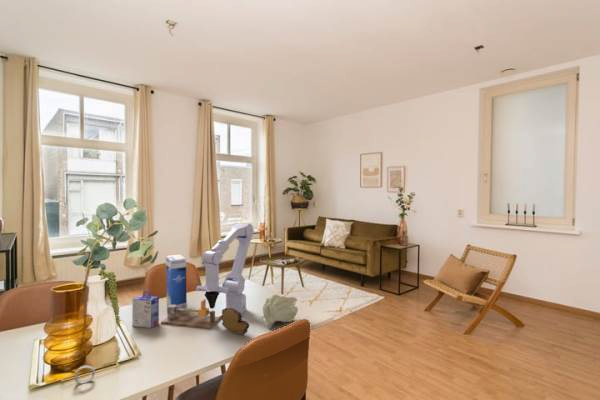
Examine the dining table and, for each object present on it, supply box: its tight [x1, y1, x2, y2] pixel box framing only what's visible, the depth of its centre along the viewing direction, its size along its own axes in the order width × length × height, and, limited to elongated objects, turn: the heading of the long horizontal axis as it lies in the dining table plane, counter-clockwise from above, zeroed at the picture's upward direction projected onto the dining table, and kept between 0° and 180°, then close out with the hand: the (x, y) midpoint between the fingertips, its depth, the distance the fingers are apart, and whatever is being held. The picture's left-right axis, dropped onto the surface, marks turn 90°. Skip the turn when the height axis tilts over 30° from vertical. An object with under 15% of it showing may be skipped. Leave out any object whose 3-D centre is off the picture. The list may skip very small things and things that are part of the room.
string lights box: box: [165, 253, 188, 309], centre depth 155 cm, size 13×8×26 cm, turn 34°
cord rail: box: [160, 304, 221, 330], centre depth 138 cm, size 24×10×6 cm, turn 79°
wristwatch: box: [74, 365, 96, 385], centre depth 95 cm, size 3×5×5 cm, turn 115°
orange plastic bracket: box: [197, 298, 210, 317], centre depth 137 cm, size 4×3×7 cm
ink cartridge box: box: [131, 290, 160, 329], centre depth 134 cm, size 10×6×14 cm, turn 78°
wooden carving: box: [218, 307, 250, 336], centre depth 128 cm, size 16×5×10 cm, turn 59°
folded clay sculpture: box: [262, 294, 299, 329], centre depth 137 cm, size 18×13×16 cm
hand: (212, 307), depth 136 cm, fingers closed
